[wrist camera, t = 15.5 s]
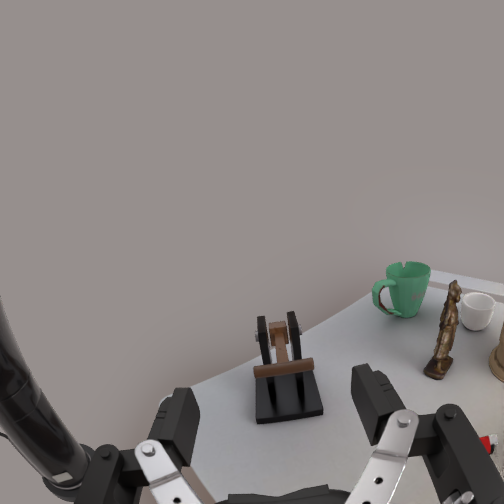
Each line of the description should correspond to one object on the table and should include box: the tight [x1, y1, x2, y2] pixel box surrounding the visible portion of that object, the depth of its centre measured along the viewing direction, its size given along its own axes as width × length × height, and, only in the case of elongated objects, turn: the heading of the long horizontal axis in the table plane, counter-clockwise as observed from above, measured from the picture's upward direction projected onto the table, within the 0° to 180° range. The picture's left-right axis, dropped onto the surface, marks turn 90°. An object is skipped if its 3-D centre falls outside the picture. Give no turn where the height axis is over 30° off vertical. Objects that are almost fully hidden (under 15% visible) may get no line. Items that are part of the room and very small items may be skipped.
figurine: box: [424, 280, 462, 380], centre depth 30 cm, size 7×4×15 cm, turn 123°
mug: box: [372, 262, 431, 318], centre depth 49 cm, size 15×10×10 cm
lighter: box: [480, 434, 498, 454], centre depth 16 cm, size 3×1×8 cm
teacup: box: [461, 292, 495, 331], centre depth 39 cm, size 10×8×5 cm
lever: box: [253, 321, 314, 378], centre depth 29 cm, size 13×6×2 cm, turn 179°
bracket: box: [255, 311, 323, 424], centre depth 36 cm, size 12×9×13 cm
